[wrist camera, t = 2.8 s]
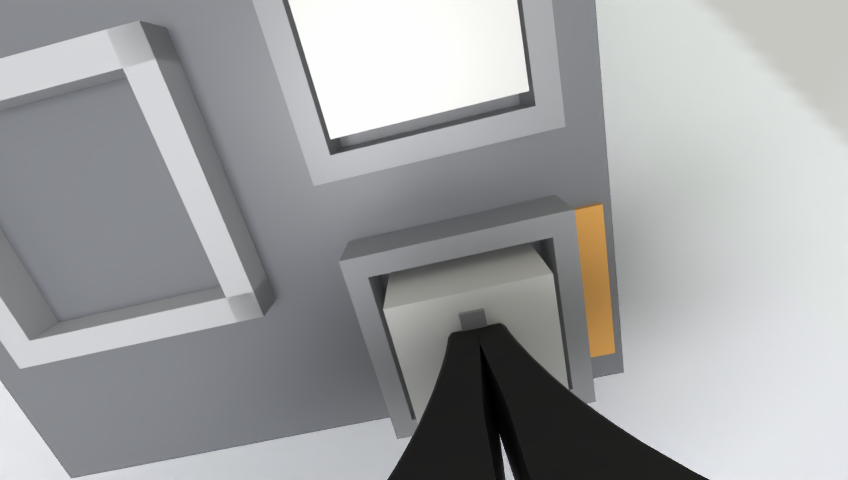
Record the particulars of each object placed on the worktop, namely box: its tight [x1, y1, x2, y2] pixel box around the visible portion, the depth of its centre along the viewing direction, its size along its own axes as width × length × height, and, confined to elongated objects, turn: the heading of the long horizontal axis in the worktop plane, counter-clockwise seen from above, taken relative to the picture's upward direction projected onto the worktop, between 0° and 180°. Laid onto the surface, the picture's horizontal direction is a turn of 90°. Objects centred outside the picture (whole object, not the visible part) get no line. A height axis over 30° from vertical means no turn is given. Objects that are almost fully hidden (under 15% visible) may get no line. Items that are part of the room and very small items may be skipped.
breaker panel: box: [0, 0, 624, 478], centre depth 11 cm, size 15×20×4 cm
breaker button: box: [383, 242, 569, 424], centre depth 11 cm, size 4×4×3 cm
